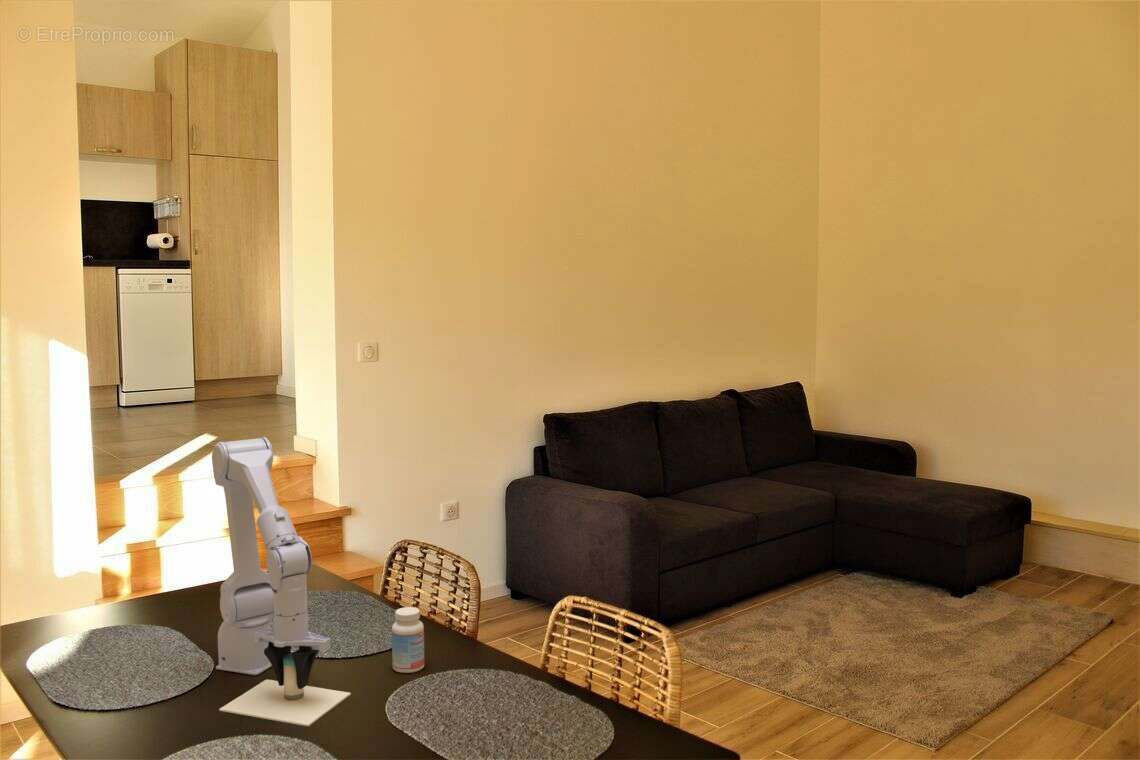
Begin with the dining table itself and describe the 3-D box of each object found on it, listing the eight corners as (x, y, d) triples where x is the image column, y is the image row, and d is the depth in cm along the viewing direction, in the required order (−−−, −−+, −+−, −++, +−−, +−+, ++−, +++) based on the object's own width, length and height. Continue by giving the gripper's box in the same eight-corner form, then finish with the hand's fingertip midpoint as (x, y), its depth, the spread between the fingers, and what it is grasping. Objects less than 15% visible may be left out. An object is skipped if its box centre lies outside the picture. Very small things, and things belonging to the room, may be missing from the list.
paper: (219, 710, 164) (219, 709, 164) (266, 680, 176) (266, 679, 176) (308, 726, 158) (308, 724, 158) (350, 694, 170) (350, 692, 170)
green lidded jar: (279, 698, 168) (278, 658, 167) (291, 690, 171) (291, 652, 170) (296, 701, 166) (295, 661, 166) (308, 693, 170) (307, 654, 169)
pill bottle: (418, 675, 178) (416, 617, 177) (387, 672, 180) (386, 615, 178) (429, 662, 184) (428, 606, 183) (399, 660, 185) (398, 604, 184)
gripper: (241, 613, 165) (244, 688, 167) (312, 623, 161) (315, 700, 162) (267, 601, 172) (269, 673, 174) (336, 609, 167) (338, 683, 169)
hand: (293, 685), depth 168 cm, fingers closed on green lidded jar, 3 cm apart
